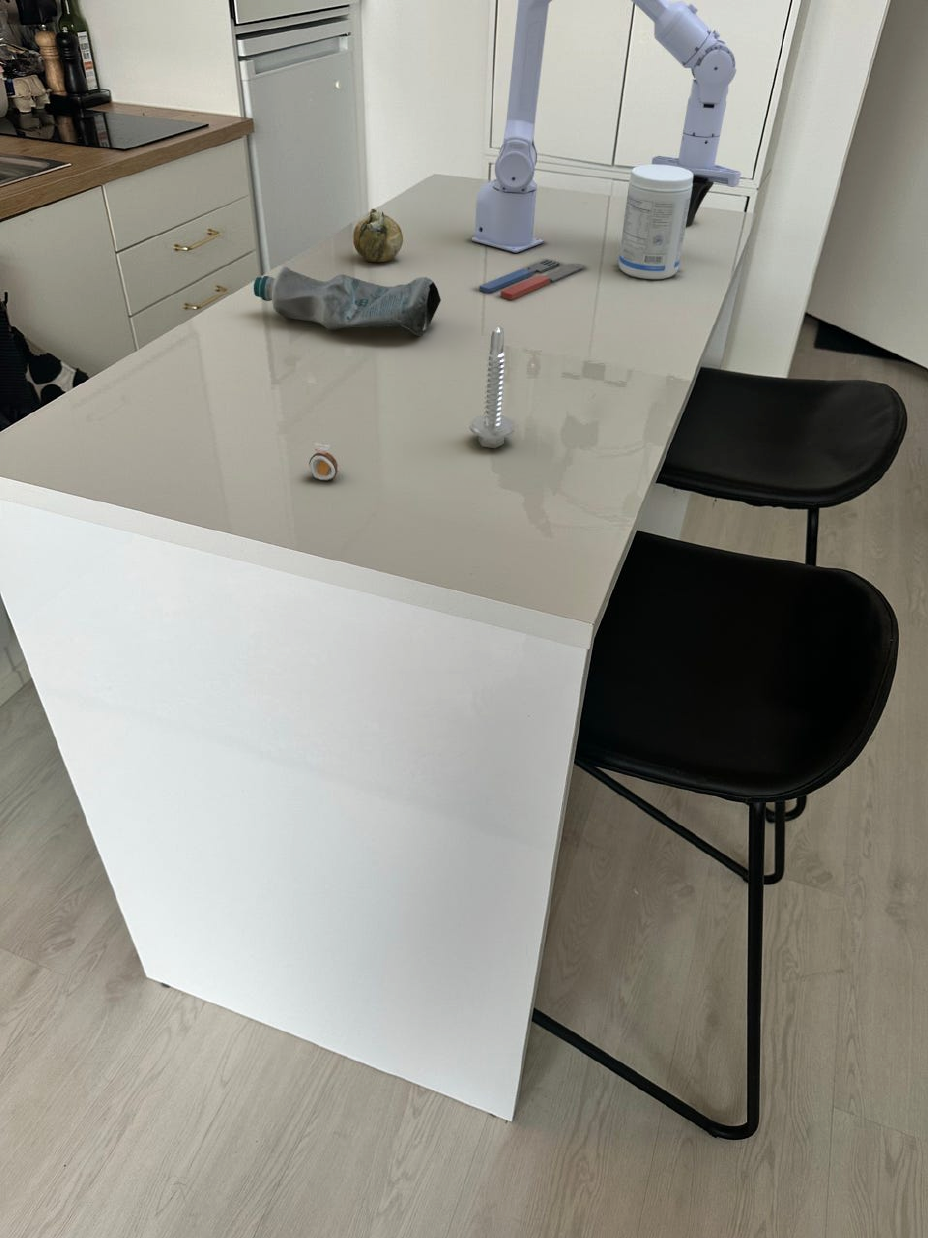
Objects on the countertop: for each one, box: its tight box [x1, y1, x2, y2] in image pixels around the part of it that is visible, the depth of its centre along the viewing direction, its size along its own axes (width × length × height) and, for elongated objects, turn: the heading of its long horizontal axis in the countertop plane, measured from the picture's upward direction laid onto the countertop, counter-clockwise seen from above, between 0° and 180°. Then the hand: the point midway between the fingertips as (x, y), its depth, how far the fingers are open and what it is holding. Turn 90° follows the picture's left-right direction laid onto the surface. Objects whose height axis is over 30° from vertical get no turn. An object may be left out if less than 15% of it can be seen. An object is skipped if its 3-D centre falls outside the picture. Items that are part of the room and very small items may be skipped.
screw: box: [469, 325, 516, 449], centre depth 96 cm, size 13×5×5 cm
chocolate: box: [308, 440, 339, 481], centre depth 92 cm, size 3×2×4 cm
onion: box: [352, 207, 404, 263], centre depth 144 cm, size 8×8×8 cm
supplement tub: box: [618, 163, 693, 280], centre depth 142 cm, size 10×10×15 cm
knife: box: [500, 263, 584, 301], centre depth 141 cm, size 20×2×1 cm, turn 142°
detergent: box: [253, 266, 442, 337], centre depth 123 cm, size 13×7×25 cm
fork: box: [478, 258, 560, 294], centre depth 142 cm, size 18×2×1 cm, turn 142°
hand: (685, 225), depth 151 cm, fingers closed
